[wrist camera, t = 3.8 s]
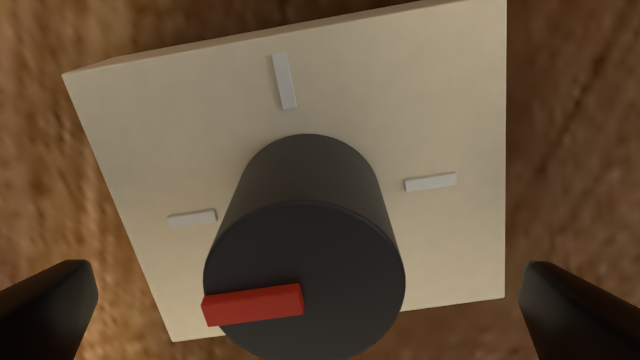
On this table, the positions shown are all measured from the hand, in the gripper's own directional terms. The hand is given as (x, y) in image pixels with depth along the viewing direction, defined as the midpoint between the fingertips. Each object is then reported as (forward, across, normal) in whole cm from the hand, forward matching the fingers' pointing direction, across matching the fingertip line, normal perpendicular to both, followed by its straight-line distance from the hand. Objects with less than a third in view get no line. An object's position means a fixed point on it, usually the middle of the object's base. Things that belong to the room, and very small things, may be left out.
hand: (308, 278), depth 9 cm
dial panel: (+6, 0, 0) cm, 7 cm away
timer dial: (+3, 0, 0) cm, 3 cm away
